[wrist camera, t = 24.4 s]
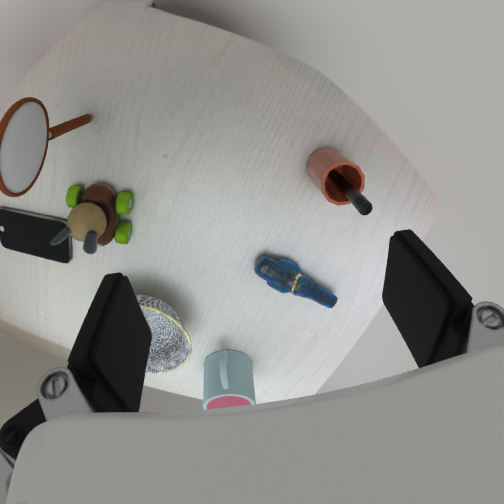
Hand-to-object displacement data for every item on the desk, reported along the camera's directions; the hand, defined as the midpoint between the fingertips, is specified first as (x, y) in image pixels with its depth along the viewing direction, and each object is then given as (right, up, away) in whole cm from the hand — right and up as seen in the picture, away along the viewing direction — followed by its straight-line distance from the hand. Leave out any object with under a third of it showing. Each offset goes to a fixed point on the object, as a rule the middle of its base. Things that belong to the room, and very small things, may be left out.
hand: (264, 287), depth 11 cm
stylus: (+9, +12, +29) cm, 32 cm away
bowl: (-18, -9, +40) cm, 44 cm away
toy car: (-21, +7, +30) cm, 37 cm away
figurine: (+7, -2, +38) cm, 39 cm away
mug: (-5, -19, +47) cm, 51 cm away
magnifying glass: (-21, +18, +23) cm, 36 cm away
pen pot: (+9, +12, +29) cm, 33 cm away
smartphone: (-35, +4, +30) cm, 46 cm away
